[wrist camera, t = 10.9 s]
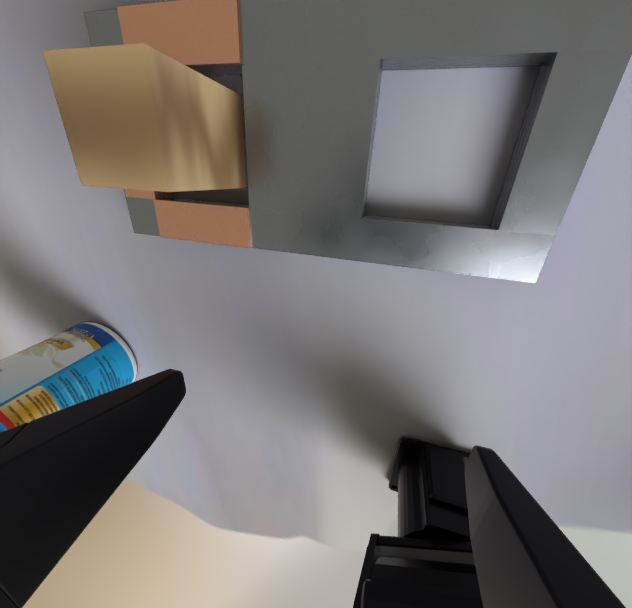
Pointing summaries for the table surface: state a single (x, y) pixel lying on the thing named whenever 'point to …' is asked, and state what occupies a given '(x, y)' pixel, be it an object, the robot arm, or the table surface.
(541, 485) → the table surface
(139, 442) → the robot arm
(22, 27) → the table surface
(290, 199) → the rail frame
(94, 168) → the wooden block
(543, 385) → the table surface
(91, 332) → the beverage bottle
